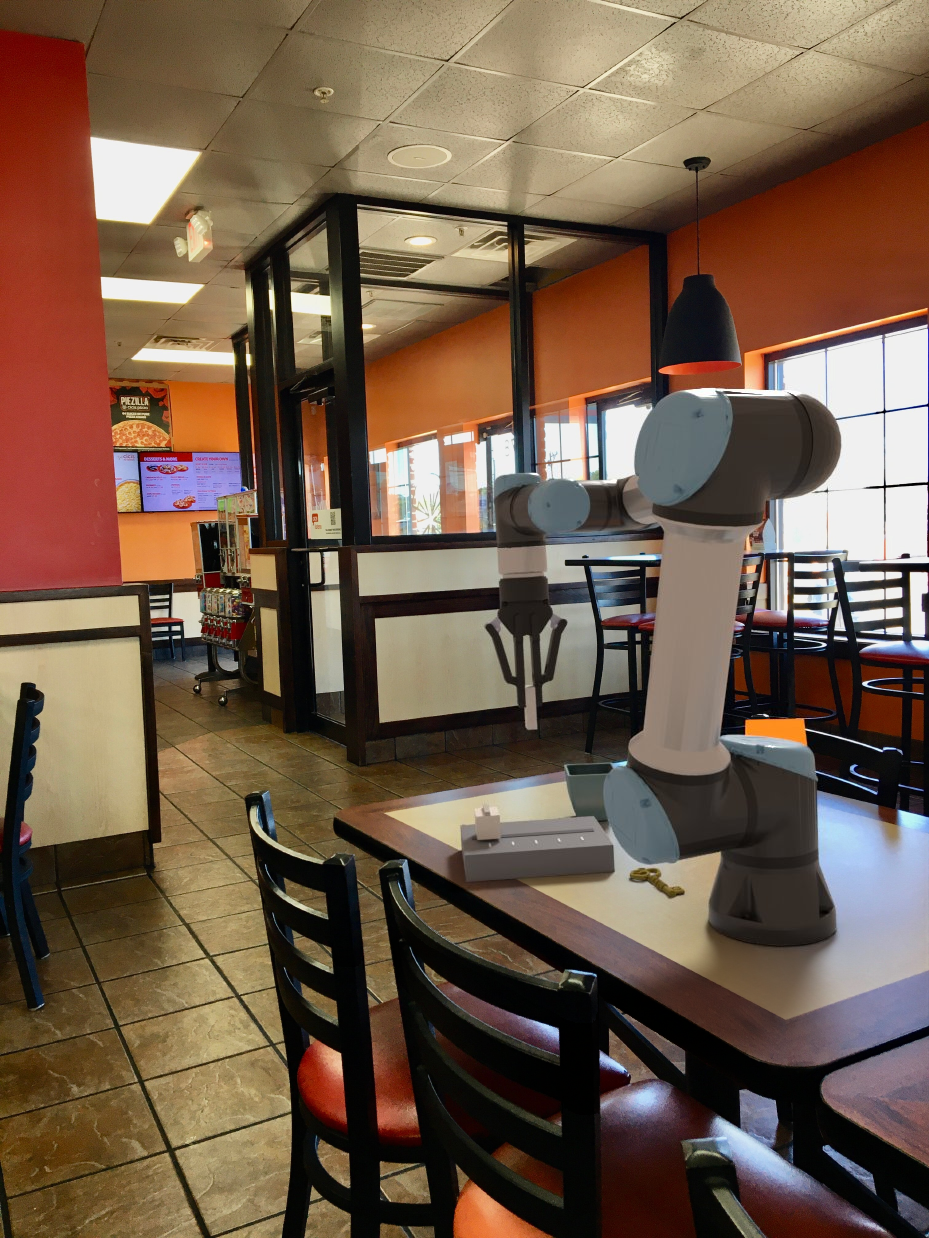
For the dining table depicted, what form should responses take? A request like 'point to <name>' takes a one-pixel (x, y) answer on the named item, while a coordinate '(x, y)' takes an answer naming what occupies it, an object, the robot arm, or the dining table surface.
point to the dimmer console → (538, 849)
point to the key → (656, 880)
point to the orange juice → (778, 729)
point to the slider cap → (487, 822)
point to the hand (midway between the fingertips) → (531, 727)
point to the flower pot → (587, 788)
